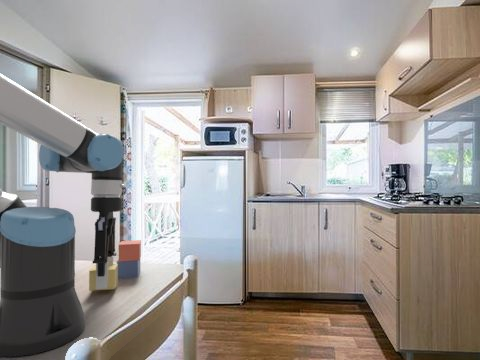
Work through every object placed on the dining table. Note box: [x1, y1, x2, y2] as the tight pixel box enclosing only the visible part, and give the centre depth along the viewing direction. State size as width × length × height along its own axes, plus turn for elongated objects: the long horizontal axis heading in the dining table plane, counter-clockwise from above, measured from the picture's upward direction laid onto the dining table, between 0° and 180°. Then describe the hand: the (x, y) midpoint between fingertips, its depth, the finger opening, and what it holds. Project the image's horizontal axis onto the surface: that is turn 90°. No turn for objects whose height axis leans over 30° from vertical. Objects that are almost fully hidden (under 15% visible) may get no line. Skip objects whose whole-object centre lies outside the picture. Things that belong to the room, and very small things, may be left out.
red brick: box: [118, 239, 142, 262], centre depth 98 cm, size 6×6×5 cm
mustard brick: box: [88, 263, 119, 292], centre depth 83 cm, size 6×6×5 cm
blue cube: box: [116, 259, 141, 279], centre depth 98 cm, size 6×6×5 cm
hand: (104, 284), depth 83 cm, fingers closed on mustard brick, 6 cm apart
